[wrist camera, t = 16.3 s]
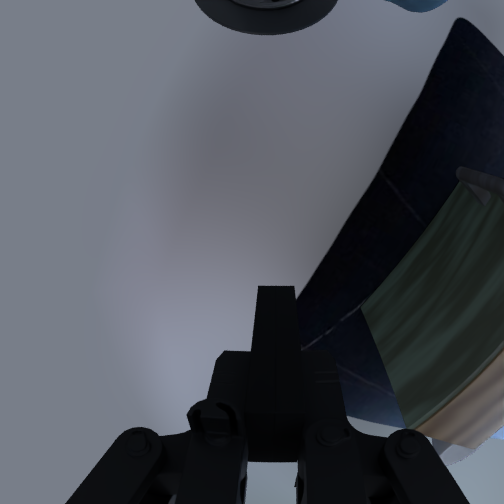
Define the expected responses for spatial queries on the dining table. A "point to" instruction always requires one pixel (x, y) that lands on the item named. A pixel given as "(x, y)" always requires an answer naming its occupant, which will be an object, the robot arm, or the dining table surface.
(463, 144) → the dining table surface
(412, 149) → the dining table surface
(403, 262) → the cupboard door
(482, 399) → the cupboard
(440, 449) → the cup
